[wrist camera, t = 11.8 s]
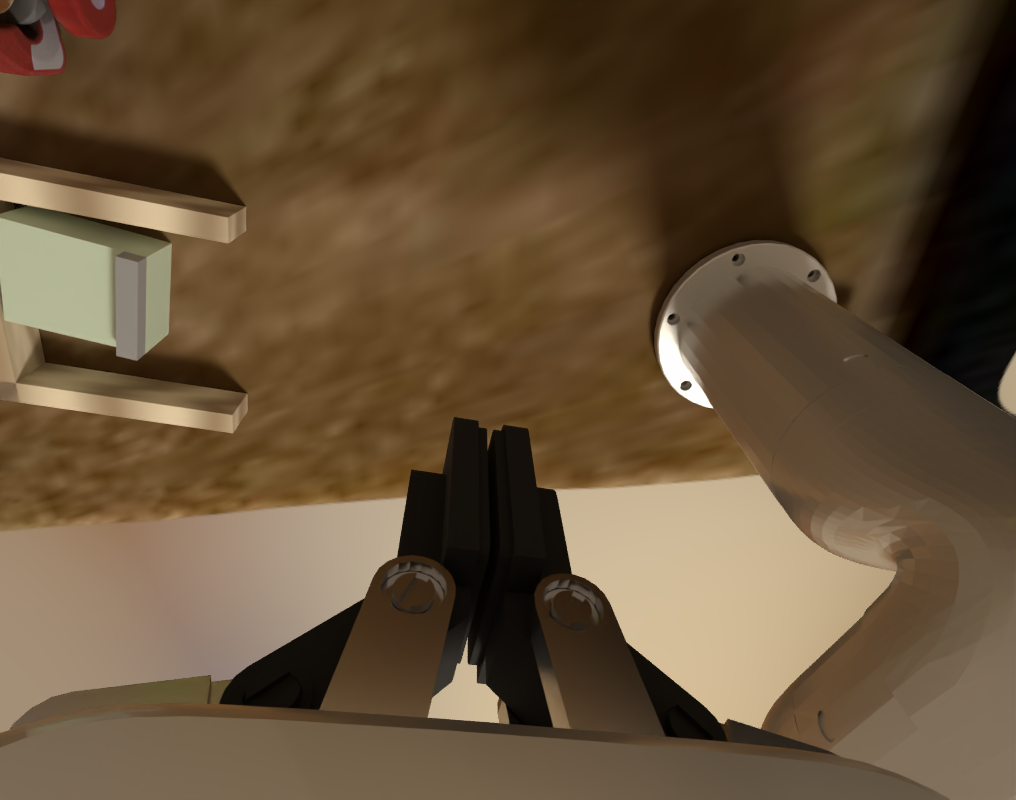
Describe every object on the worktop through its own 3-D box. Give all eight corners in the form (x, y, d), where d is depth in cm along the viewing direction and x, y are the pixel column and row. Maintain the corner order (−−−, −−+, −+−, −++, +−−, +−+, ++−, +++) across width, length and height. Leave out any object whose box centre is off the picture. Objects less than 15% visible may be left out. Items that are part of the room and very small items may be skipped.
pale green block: (173, 241, 37) (138, 262, 33) (170, 332, 40) (137, 360, 36) (34, 203, 35) (-21, 219, 31) (41, 300, 38) (-8, 326, 34)
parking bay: (246, 206, 36) (228, 217, 33) (247, 410, 43) (233, 433, 40) (-24, 152, 33) (-67, 159, 31) (25, 377, 41) (-5, 398, 38)
